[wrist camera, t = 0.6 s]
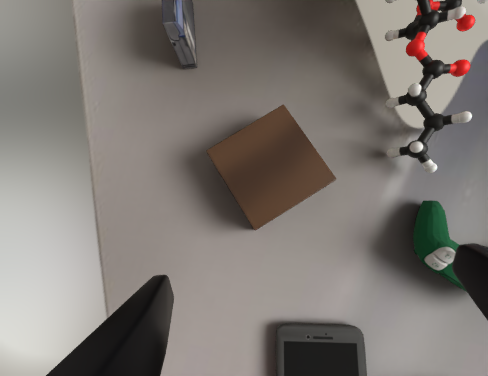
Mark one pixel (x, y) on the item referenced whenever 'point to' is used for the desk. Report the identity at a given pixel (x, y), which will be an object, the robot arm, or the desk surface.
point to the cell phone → (320, 350)
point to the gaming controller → (435, 240)
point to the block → (270, 166)
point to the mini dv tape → (181, 30)
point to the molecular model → (429, 72)
